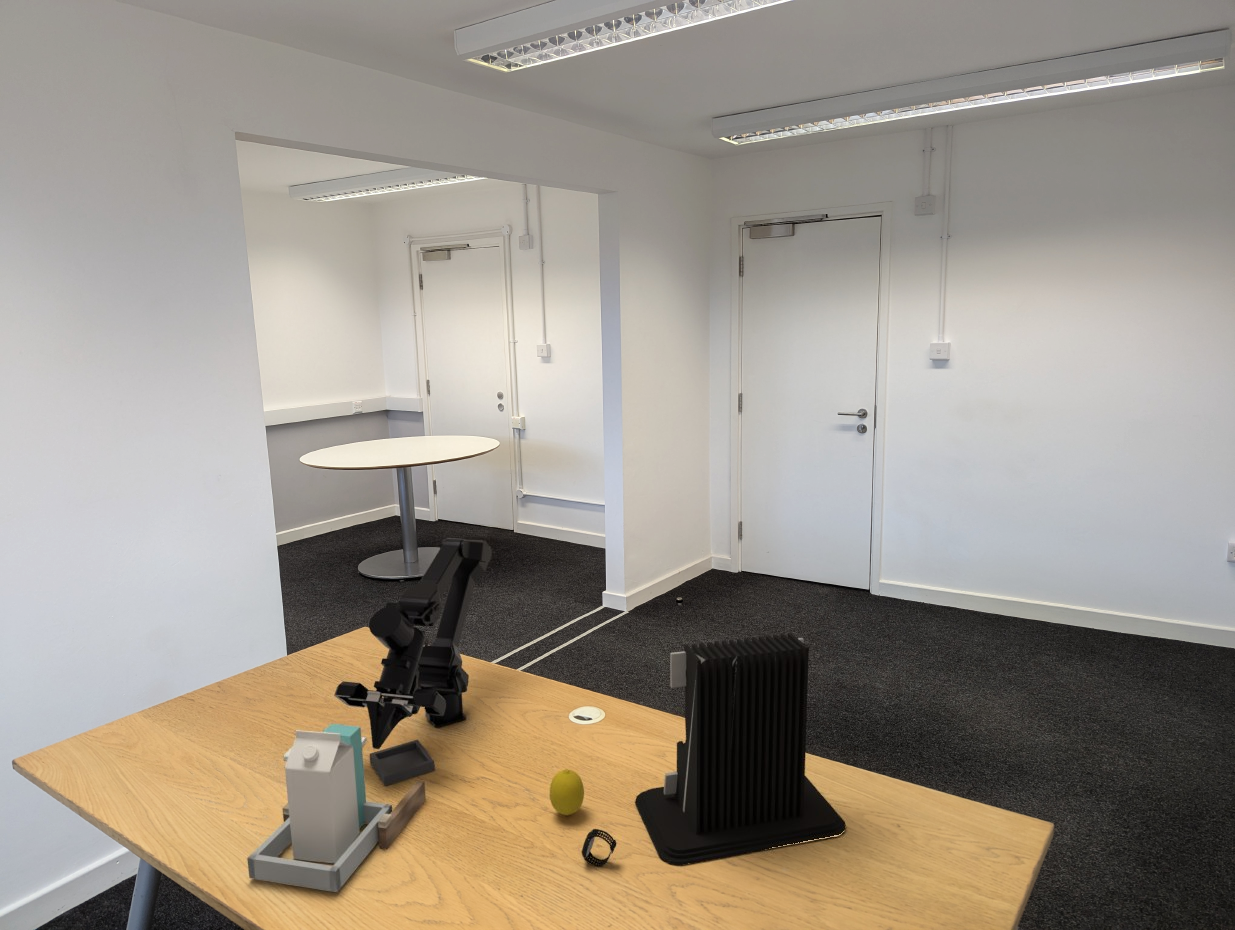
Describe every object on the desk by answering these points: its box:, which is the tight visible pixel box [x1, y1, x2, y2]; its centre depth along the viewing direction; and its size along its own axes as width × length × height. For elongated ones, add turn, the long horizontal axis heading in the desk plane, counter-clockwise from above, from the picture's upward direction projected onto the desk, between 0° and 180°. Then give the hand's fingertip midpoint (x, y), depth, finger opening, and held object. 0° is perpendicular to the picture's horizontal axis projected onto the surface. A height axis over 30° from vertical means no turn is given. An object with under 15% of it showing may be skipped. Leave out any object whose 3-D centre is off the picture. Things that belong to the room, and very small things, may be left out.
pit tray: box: [369, 739, 436, 787], centre depth 145 cm, size 9×9×2 cm
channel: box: [282, 779, 427, 850], centre depth 130 cm, size 13×18×4 cm
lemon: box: [549, 768, 585, 817], centre depth 129 cm, size 6×6×8 cm
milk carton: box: [284, 729, 360, 864], centre depth 121 cm, size 7×7×19 cm
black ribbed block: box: [634, 632, 847, 866], centre depth 127 cm, size 30×19×30 cm, turn 104°
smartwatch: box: [581, 828, 617, 868], centre depth 118 cm, size 4×5×5 cm
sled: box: [246, 723, 393, 893], centre depth 120 cm, size 16×14×16 cm
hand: (375, 748), depth 135 cm, fingers closed
